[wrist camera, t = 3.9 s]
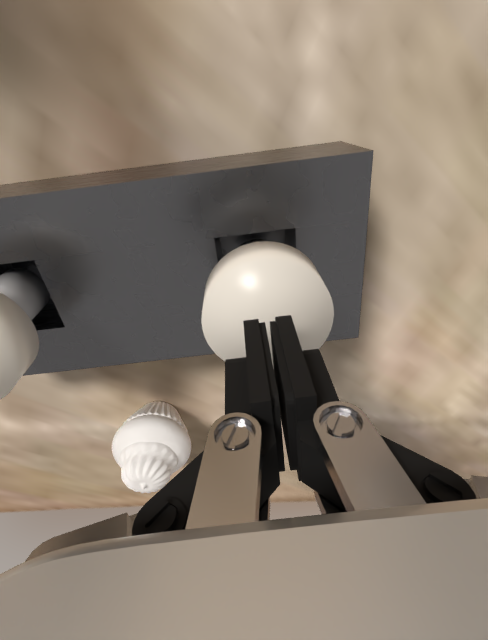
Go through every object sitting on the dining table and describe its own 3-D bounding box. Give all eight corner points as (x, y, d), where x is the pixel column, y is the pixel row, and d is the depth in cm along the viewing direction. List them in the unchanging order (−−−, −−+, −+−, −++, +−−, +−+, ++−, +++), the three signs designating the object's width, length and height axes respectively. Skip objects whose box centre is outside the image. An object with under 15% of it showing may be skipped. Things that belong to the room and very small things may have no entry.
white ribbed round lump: (142, 443, 32) (122, 520, 26) (110, 397, 29) (79, 473, 23) (204, 428, 31) (199, 504, 25) (180, 380, 28) (167, 453, 22)
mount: (341, 141, 19) (373, 150, 15) (335, 297, 24) (358, 337, 20) (-74, 194, 20) (-157, 218, 15) (8, 335, 25) (-37, 382, 21)
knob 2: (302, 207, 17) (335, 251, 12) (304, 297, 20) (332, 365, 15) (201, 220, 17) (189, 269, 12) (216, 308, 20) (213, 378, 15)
